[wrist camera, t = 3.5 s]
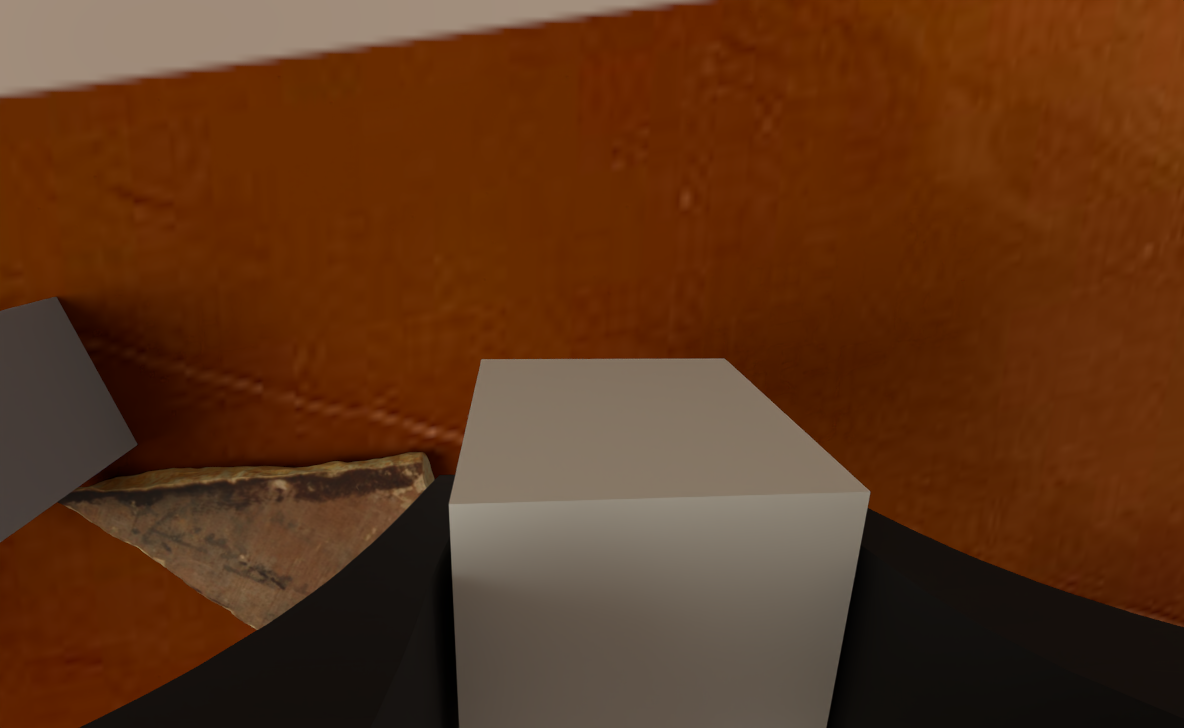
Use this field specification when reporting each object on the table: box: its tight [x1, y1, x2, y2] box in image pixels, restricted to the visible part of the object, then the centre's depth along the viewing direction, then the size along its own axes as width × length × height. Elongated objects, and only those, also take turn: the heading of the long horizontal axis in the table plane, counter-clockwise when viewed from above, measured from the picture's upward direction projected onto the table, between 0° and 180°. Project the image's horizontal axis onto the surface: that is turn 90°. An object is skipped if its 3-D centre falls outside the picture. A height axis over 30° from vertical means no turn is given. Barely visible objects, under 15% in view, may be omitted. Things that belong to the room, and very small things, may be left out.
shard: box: [58, 452, 435, 630], centre depth 18 cm, size 11×8×2 cm
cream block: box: [449, 359, 870, 728], centre depth 9 cm, size 4×4×5 cm
